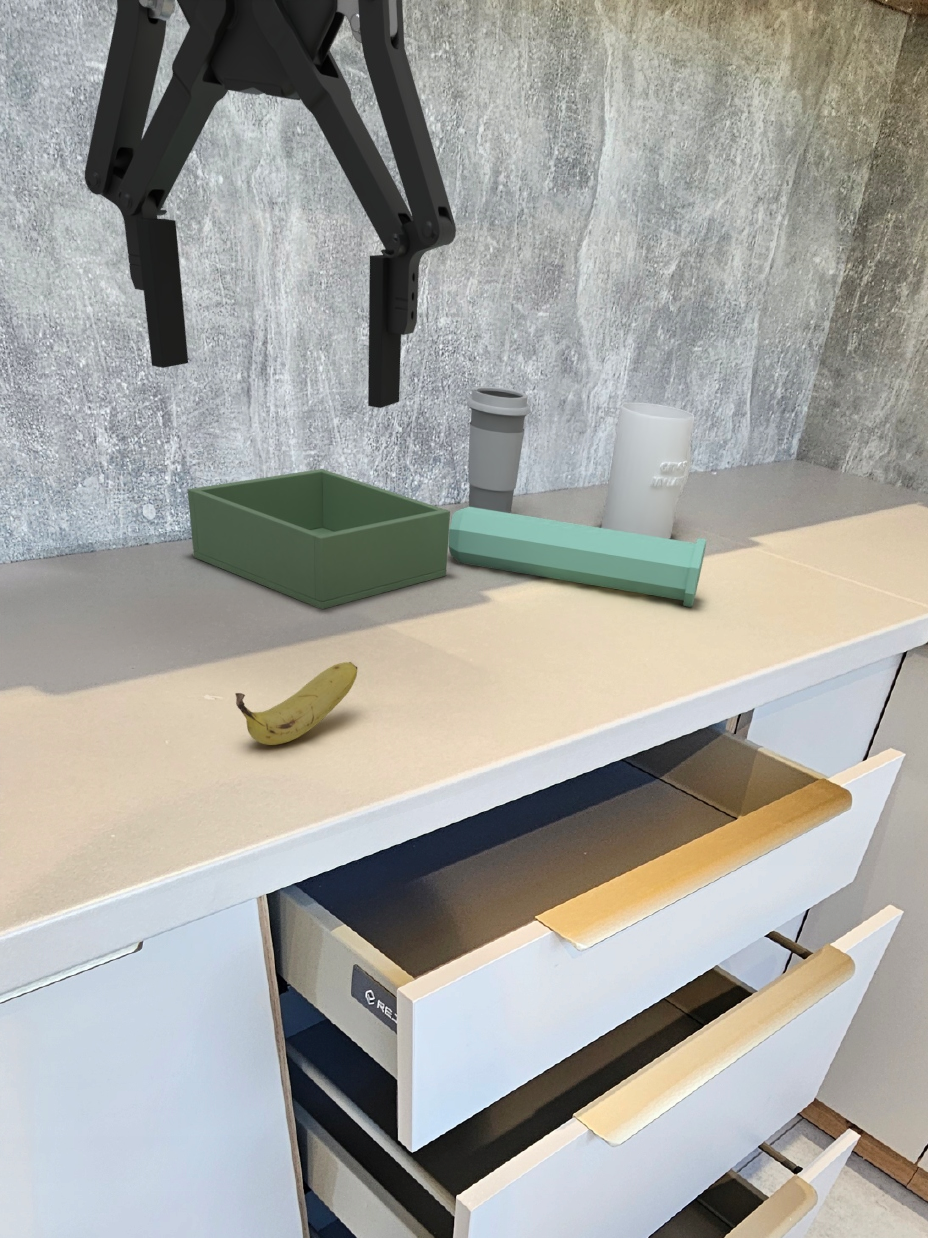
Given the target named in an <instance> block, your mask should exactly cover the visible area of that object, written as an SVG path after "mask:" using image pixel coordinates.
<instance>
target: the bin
mask: <svg viewBox="0 0 928 1238" xmlns="http://www.w3.org/2000/svg"><path fill="white" fill-rule="evenodd" d="M187 498H188V509H189V520H190V521H189V522H190V532H191V540H192V541H191V542H192V550H193V551H192V553H193V558H195V559H197V560H200V561H202V562H205V563H207V564H209V565H212V566H214V567H217V568H220V569H222V570H224V571H227V572H229V573H231V574H234V575H237V576H239V577H241V578H244V579H247V580H249V581H252V582H254V583H256V584H259V585H262V586H263V587H267V588H269V589H271V590H273V591H276V592H278V593H281V594H283V595H285V596H289V597H291V598H293V599H296V600H298V601H301V602H303V603H306V604H308V605H310V606H313V607H315V608H318V609H320V610H325V609H329V608H333V607H336V606H339V605H344V604H346V603H350V602H354V601H358V600H362V599H365V598H369V597H373V596H375V595H380V594H384V593H387V592H392V591H395V590H398V589H402V588H406V587H410V586H413V585H417V584H421V583H423V582H428V581H431V580H435V579H440V578H443V577H446V576H447V567H448V554H449V553H448V550H449V529H450V522H451V521H450V520H451V519H450V517H451V511H450V510H448V509H445V508H442V507H438V506H436V505H433V504H430V503H427V502H424V501H420V500H418V499H415V498H411V497H409V496H405V495H403V494H400V493H396V492H393V491H390V490H387V489H384V488H381V487H378V486H375V485H372V484H370V483H369V484H368V483H366V482H363V481H360V480H357V479H354V478H351V477H349V476H345V475H342V474H338V473H336V472H333V471H329V470H326V469H324V468H318V469H312V470H306V471H305V470H304V471H299V472H293V473H286V474H279V475H273V476H272V475H271V476H266V477H259V478H253V479H247V480H239V481H238V480H237V481H232V482H226V483H220V484H219V483H218V484H213V485H212V484H211V485H206V486H199V487H193V488H188V489H187Z"/></svg>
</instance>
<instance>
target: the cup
mask: <svg viewBox="0 0 928 1238" xmlns="http://www.w3.org/2000/svg"><path fill="white" fill-rule="evenodd" d="M466 406H468V407H469V408H470V421H469V431H468V433H469V435H468V438H469V439H468V442H469V443H468V471H467V472H468V476H467V481H468V484H469V486H468V487H469V488H468V507H474V508H480V509H486V510H493V511H499V512H505V513H511V514H512V508H513V507H512V506H513V502H514V501H513V500H514V493H515V489H516V488H517V483H518V482H517V481H518V475H519V469H520V463H521V454H522V448H523V442H524V434H525V428H524V425H525V420H526V416H528V415H529V414H530V413H531V407H530V404H529V403H528V394H527V393H525V392H522V391H520V390H517V389H516V390H515V389H512V388H507V387H499V386H489V385H488V386H487V385H479V386H474V387H472V389H471V396H469V397H468V398H467V403H466Z"/></svg>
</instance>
